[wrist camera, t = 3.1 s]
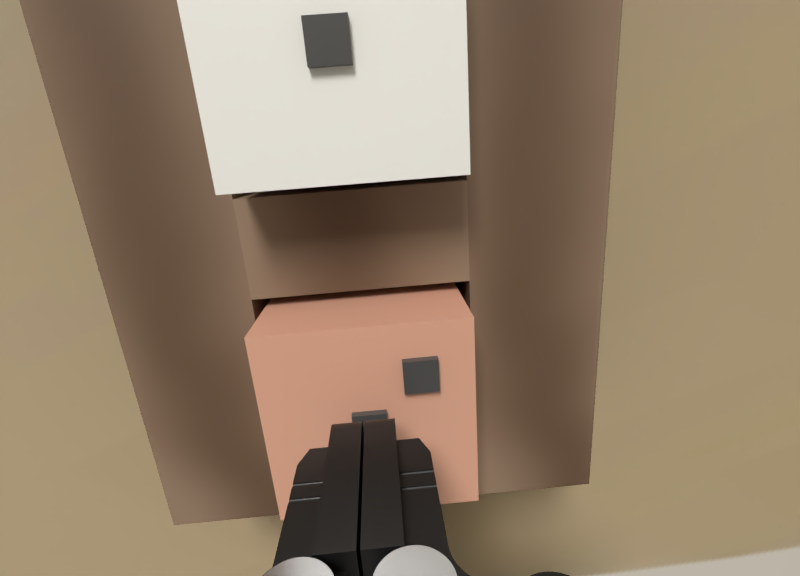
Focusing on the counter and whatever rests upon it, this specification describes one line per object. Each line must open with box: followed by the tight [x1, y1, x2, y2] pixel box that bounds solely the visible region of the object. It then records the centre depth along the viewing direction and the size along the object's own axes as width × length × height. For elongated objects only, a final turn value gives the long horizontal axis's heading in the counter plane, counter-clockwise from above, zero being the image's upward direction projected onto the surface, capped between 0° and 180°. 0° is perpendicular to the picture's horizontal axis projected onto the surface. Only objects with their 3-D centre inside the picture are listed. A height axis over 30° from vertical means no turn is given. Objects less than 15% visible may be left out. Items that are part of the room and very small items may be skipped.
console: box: [19, 0, 623, 525], centre depth 13 cm, size 14×27×5 cm, turn 4°
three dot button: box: [244, 282, 479, 520], centre depth 13 cm, size 6×6×4 cm
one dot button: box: [177, 0, 471, 195], centre depth 10 cm, size 6×6×4 cm
